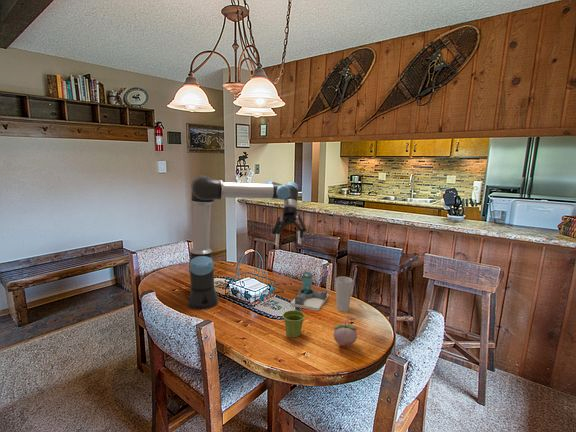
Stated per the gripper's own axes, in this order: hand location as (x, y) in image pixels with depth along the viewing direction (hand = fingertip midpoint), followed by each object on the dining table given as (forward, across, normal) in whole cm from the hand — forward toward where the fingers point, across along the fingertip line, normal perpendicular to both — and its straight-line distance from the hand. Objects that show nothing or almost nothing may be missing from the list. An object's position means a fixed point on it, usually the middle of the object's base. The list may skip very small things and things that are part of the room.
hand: (288, 244), depth 173 cm
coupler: (+24, -6, -14) cm, 29 cm away
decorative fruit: (+49, -35, +12) cm, 61 cm away
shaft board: (+28, -9, -13) cm, 32 cm away
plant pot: (+46, -13, +15) cm, 50 cm away
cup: (+32, -26, -13) cm, 43 cm away
